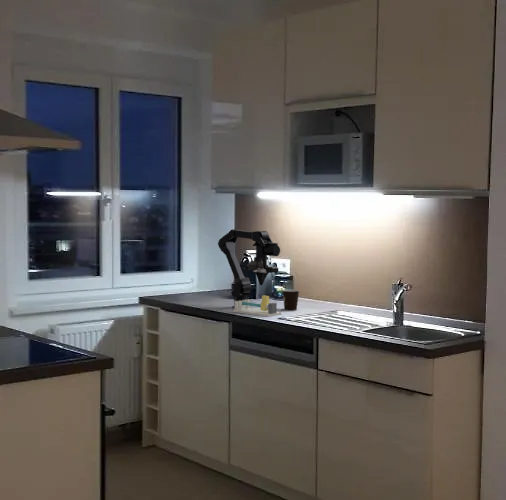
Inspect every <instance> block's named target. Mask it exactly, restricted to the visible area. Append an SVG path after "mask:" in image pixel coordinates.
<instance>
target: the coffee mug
mask: <svg viewBox="0 0 506 500" xmlns="http://www.w3.org/2000/svg"><path fill="white" fill-rule="evenodd" d="M299 294H300V290H298V289H283V290H282V298H283V308H284V311H297V309H298V302H299Z"/></svg>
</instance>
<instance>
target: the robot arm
mask: <svg viewBox="0 0 506 500" xmlns="http://www.w3.org/2000/svg"><path fill="white" fill-rule="evenodd" d="M238 238H241V239H247V240H252V241H253V242H254V243H253V244H252V247H255V256H254V257H253V261H250V262H249V263H248V264H245V265H244V271H248V272H249V271H252V273H253V274H255V276H256V278H257V281H258V284H259V286H263V285H264V282H265V281H266V278H267V276H268V275H269V274H272V273H273V274H274V273H279V267H278V266H269V264H268V260H269V256H270V257H278V256H279V255H280V254H281V248H280V246H279V245H278V244H279V243H278V242H273V240H272V238H271V237H270V235H269V232H268V231H267V230H257V231H249V230H241V229H237V228H236V229H233V228H232V229H230V230H229V232H227V233H225V234H224V235H223V236H222V237H221V238H220V239H219V240H218V242H217V246H218V248H219V250H220V251H221V252H222V253H223V254H224V256H225V257H226V259H227V262H228V265H229V267H230V269H231V273H232V275H233V278H234V288H233V290H232V291H231V296H232V297H233V302H234V303H233V304H234V305H233V306H231V307H232V308H235V301H242V300H246V299H248V296H249V295H250V293H251V291H252V288H253V287H252V283H251V280H250V277H245V275H244V273H243V271H242V268H241V266H240V263H239V259H238V258H237V256H236V252H235V249H236V246H235V244H236V242H237V240H238Z"/></svg>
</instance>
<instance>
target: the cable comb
mask: <svg viewBox="0 0 506 500" xmlns="http://www.w3.org/2000/svg"><path fill="white" fill-rule="evenodd" d="M250 301H251V300H250V299H249V298H247V299H246V300H242V301H235V307H234V309H232V312H233V313H239V314H247V315H253V316H259V317H275V316H280V315H282V312H281V311H277V313H274V314H269V313H268V311H261V308H260V309H259V308H251V306H247V305H242V302H248V303H251V302H250Z"/></svg>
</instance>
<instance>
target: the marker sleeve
mask: <svg viewBox="0 0 506 500" xmlns="http://www.w3.org/2000/svg"><path fill="white" fill-rule="evenodd" d="M268 303H271V302H270V296H269V295H261V301H260V304H261V307H260V310H261V311H268V310H267V309H266V304H268Z"/></svg>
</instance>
